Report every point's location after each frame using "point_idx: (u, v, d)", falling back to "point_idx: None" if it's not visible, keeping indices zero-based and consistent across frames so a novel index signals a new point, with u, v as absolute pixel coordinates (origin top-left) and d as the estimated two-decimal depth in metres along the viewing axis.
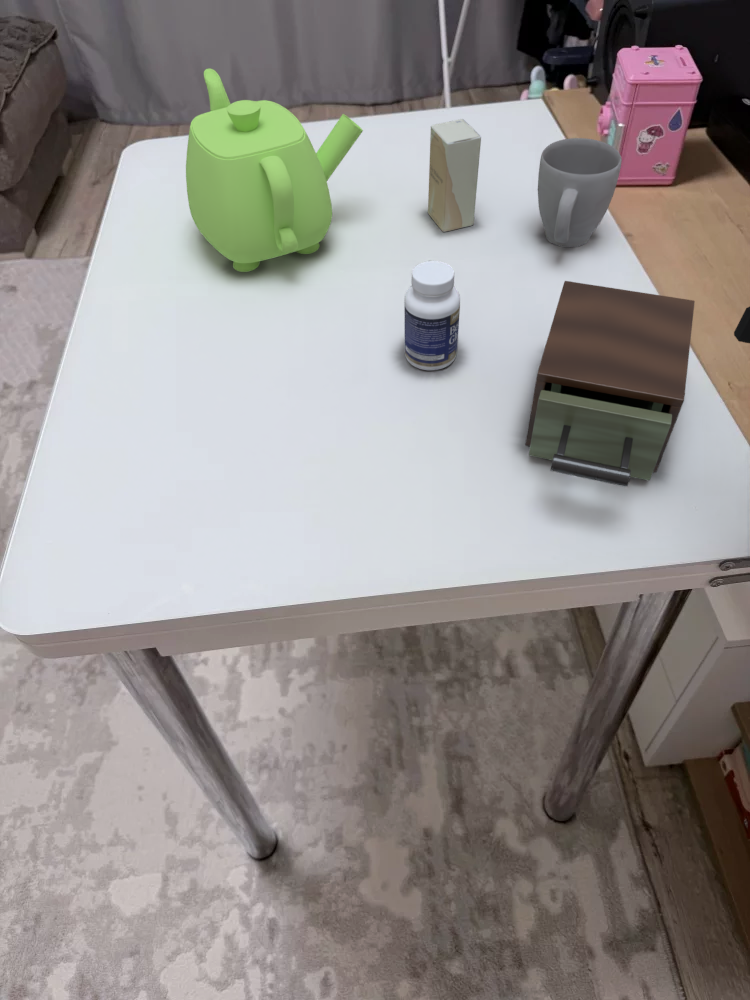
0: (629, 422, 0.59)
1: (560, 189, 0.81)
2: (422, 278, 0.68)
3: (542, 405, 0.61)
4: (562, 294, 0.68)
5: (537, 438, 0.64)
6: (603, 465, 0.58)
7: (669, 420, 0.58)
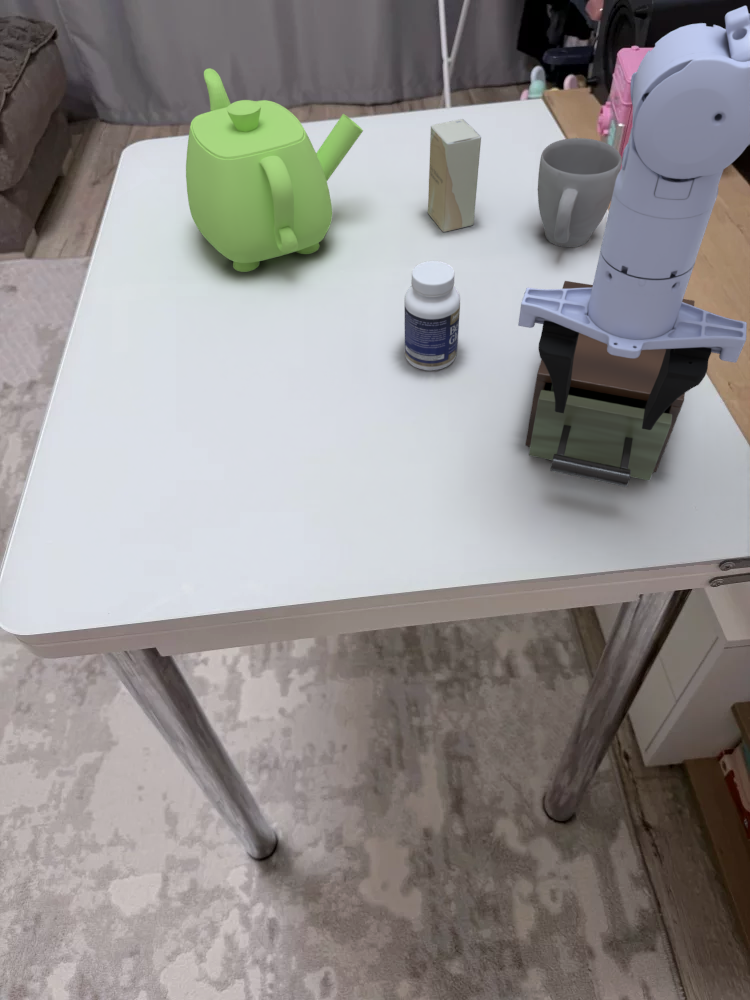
0: (629, 422, 0.59)
1: (560, 189, 0.81)
2: (422, 278, 0.68)
3: (542, 405, 0.61)
4: None
5: (537, 438, 0.64)
6: (603, 465, 0.58)
7: (669, 420, 0.58)
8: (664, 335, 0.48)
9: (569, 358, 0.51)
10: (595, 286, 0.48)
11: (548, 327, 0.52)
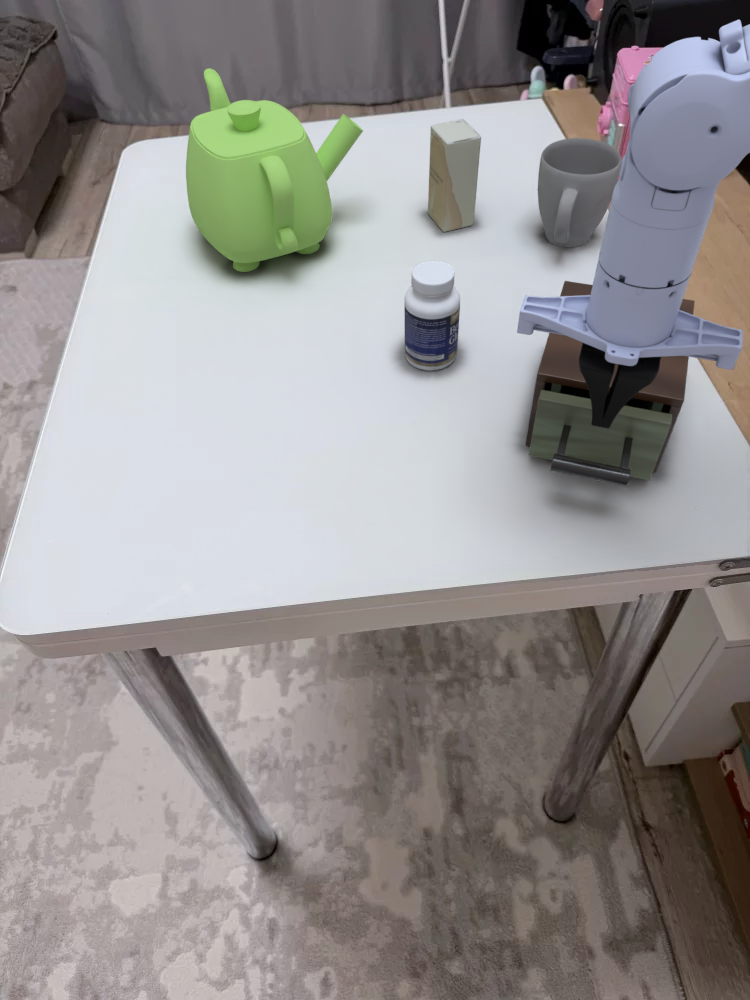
0: (629, 422, 0.59)
1: (560, 189, 0.81)
2: (422, 278, 0.68)
3: (542, 405, 0.61)
4: (562, 294, 0.68)
5: (537, 438, 0.64)
6: (603, 465, 0.58)
7: (669, 420, 0.58)
8: (661, 343, 0.48)
9: (610, 373, 0.50)
10: (593, 294, 0.48)
11: None
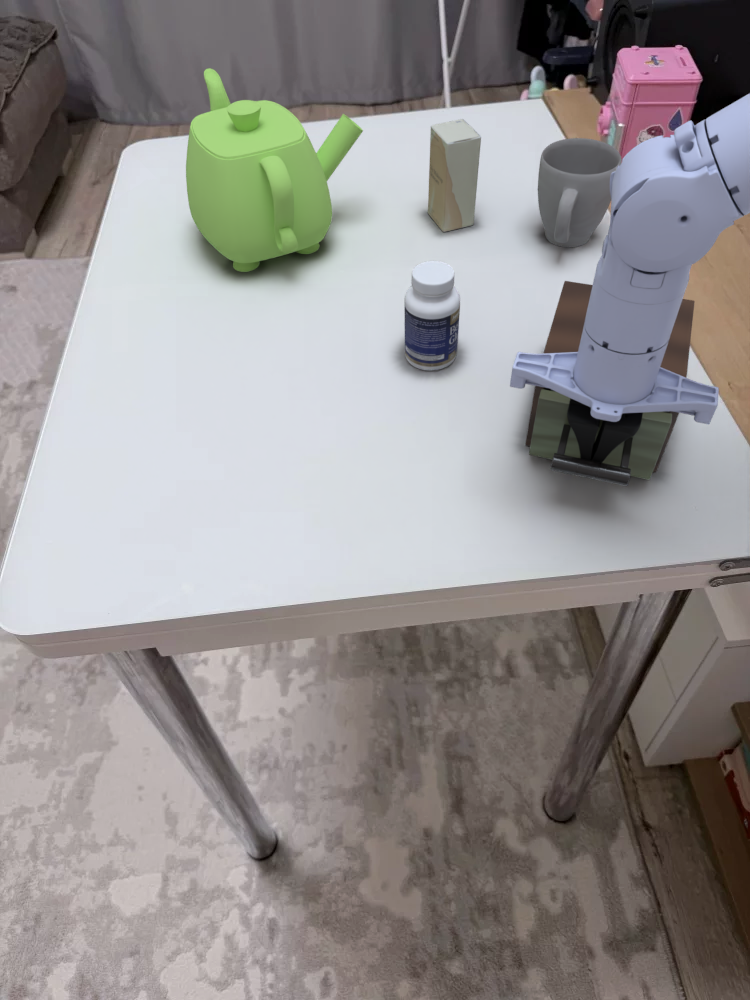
0: None
1: (560, 189, 0.81)
2: (422, 278, 0.68)
3: (542, 404, 0.61)
4: (562, 294, 0.68)
5: (537, 437, 0.64)
6: (603, 464, 0.58)
7: (669, 419, 0.58)
8: (643, 400, 0.52)
9: (596, 426, 0.54)
10: (579, 355, 0.52)
11: None
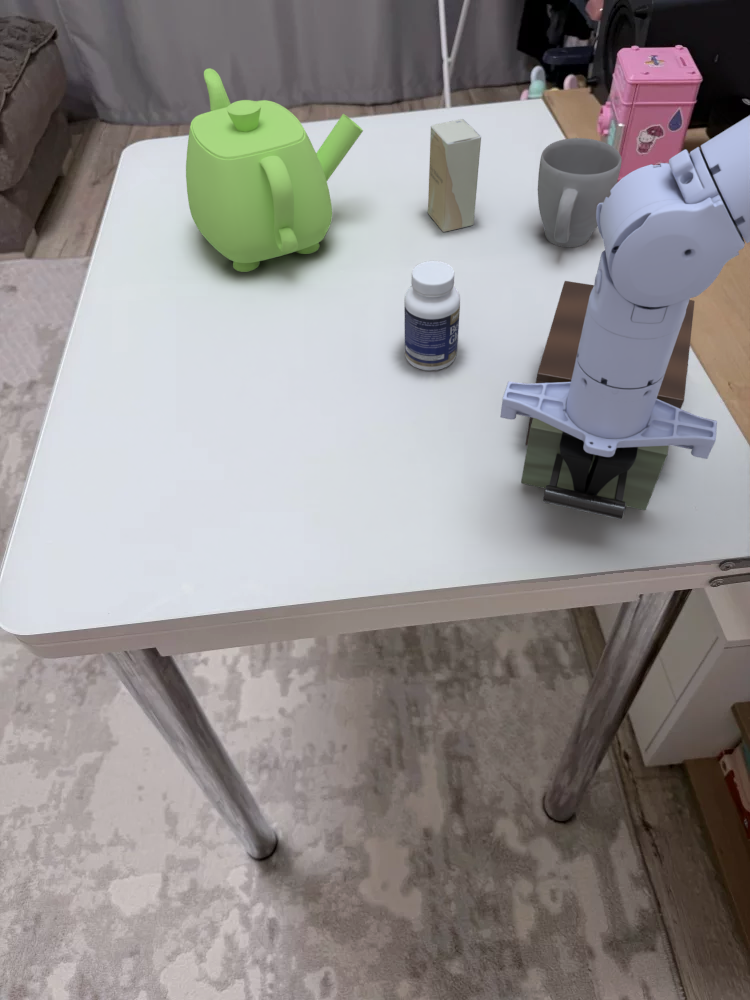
0: None
1: (560, 189, 0.81)
2: (422, 278, 0.68)
3: (534, 433, 0.59)
4: (562, 294, 0.68)
5: (529, 466, 0.62)
6: (597, 497, 0.56)
7: (665, 450, 0.56)
8: (638, 434, 0.50)
9: (589, 460, 0.52)
10: (572, 387, 0.50)
11: None
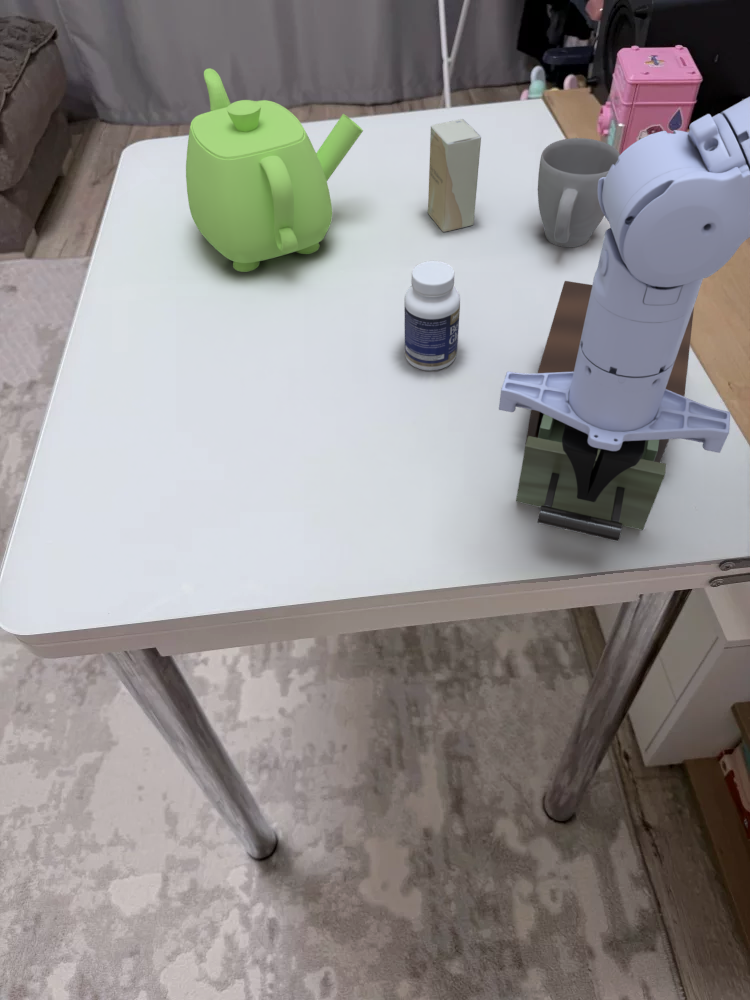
0: None
1: (560, 189, 0.81)
2: (422, 278, 0.68)
3: (529, 452, 0.57)
4: (562, 294, 0.68)
5: (524, 485, 0.60)
6: (593, 518, 0.55)
7: (663, 470, 0.55)
8: (646, 426, 0.47)
9: (594, 454, 0.49)
10: (575, 377, 0.47)
11: None
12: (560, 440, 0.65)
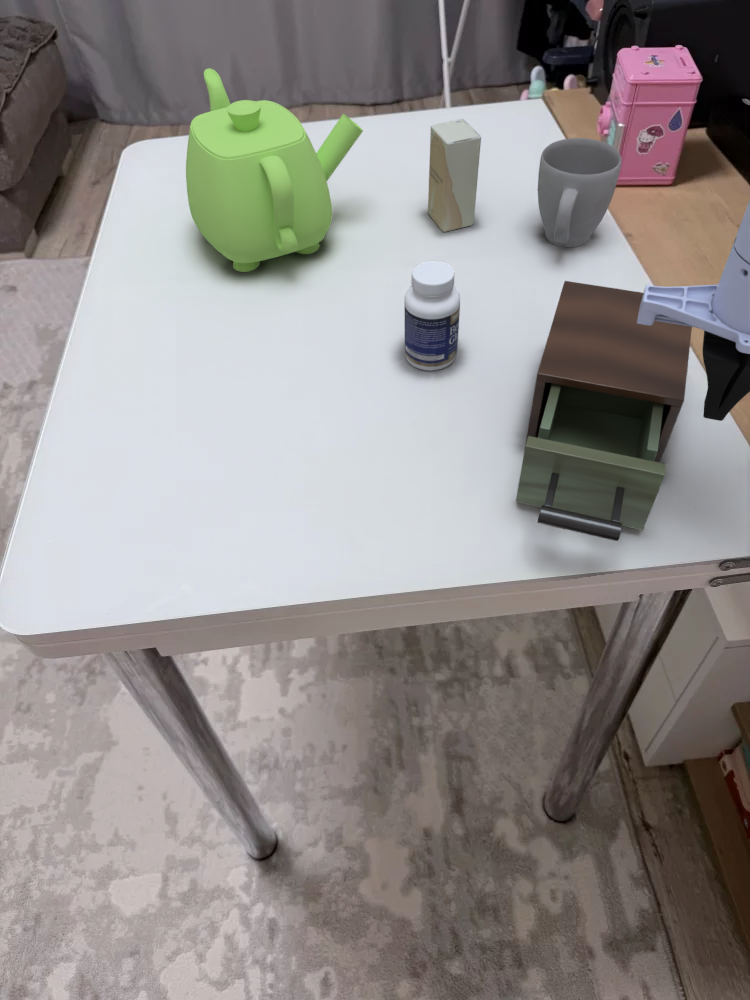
0: (621, 472, 0.56)
1: (560, 189, 0.81)
2: (422, 278, 0.68)
3: (529, 452, 0.57)
4: (562, 294, 0.68)
5: (524, 485, 0.60)
6: (593, 518, 0.55)
7: (663, 470, 0.55)
8: None
9: (737, 364, 0.50)
10: (725, 283, 0.47)
11: None
12: (560, 440, 0.65)
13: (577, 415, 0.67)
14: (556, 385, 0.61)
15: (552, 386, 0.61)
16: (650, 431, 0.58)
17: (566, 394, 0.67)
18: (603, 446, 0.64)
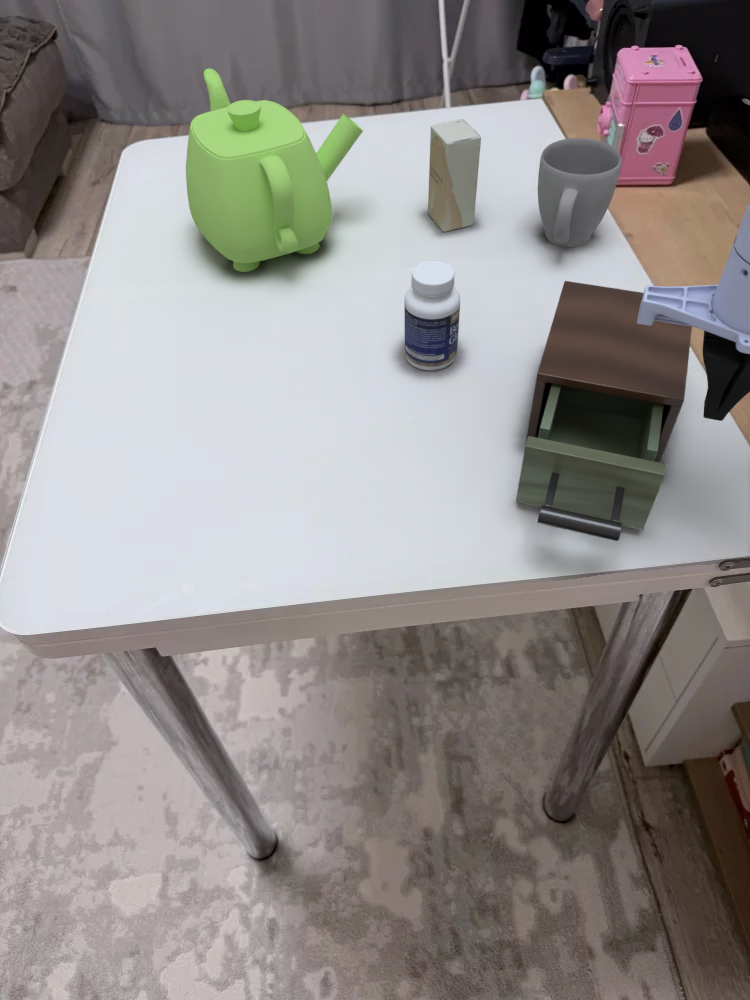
0: (621, 472, 0.56)
1: (560, 189, 0.81)
2: (422, 278, 0.68)
3: (529, 452, 0.57)
4: (562, 294, 0.68)
5: (524, 485, 0.60)
6: (593, 518, 0.55)
7: (663, 470, 0.55)
8: None
9: (737, 364, 0.50)
10: (725, 283, 0.47)
11: None
12: (560, 440, 0.65)
13: (577, 415, 0.67)
14: (556, 385, 0.61)
15: (552, 386, 0.61)
16: (650, 431, 0.58)
17: (566, 394, 0.67)
18: (603, 446, 0.64)
